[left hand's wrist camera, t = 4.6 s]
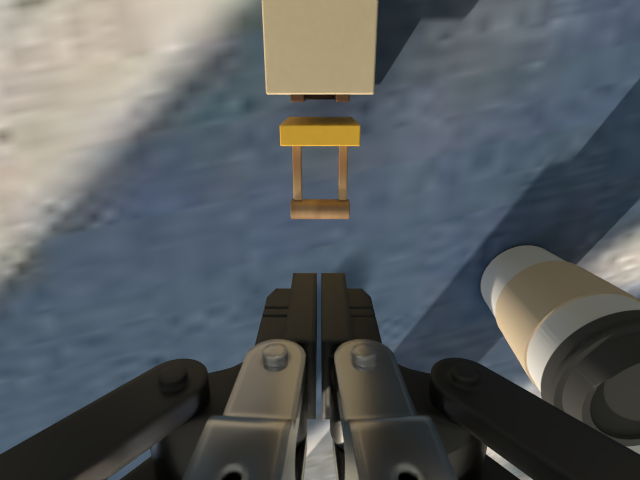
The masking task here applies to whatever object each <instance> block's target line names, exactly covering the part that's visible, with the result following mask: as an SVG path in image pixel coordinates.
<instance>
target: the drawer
mask: <svg viewBox="0 0 640 480" xmlns="http://www.w3.org/2000/svg"><path fill="white" fill-rule="evenodd" d="M307 99H334V100H335V101H336V102H349V100H350V94H291V102H304V101H305V100H307ZM360 127H361V126H360V125H359V124H358V123H357V122H356V121H355V120H354V119H353V118H352V117H289V118H287V119H286V120H285V121H284V122H283V123H282V124H281V125H280V145H281V146H292V153H293V193H294V199H291V218H292V219H349V215H350V202H349V199H347V170H348V146H360ZM301 146H339V175H338V199H302V149H301Z"/></svg>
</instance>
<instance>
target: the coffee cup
mask: <svg viewBox="0 0 640 480" xmlns="http://www.w3.org/2000/svg"><path fill="white" fill-rule="evenodd" d="M481 293H482V296H483V298H484V300H485V302H486V303H487V305H488V307H489V308H490V310H491V312H492V313H493V315H494V316H495V318H496V321H497V324H498V326H499V328H500V330H501V331H502V333H503V335H504V336H505V338H506V340H507V341H508V343H509V345H510V346H511V348H512V350H513V351H514V353H515V355H516V356H517V358H518V360H519V361H520V363H521V365H522V366H523V368H524V370H525V371H526V373H527V375H528V376H529V378H530V380H531V381H532V383H533V384H534V385H535V386H536V387H537V388H538V389H539V390H540V392H541V396H542V399H543V400H544V401H546V402H548V403H550V404H551V405H553V406H555V407H557V408H559V409H560V410H562V411H564V412H566V413H567V414H569V415H571V416H573V417H574V418H576V419H578V420H580V421H581V422H583V423H585V424H587V425H588V426H590V427H592V428H594V429H596V430H597V431H599V432H601V433H603V434H604V435H606V436H608V437H610V438H611V439H613V440H615V441H617V442H618V443H620V444H622V445H624V446H636V445H640V299H638V298H636V297H634V296H632V295H631V294H629V293H627V292H625V291H623V290H621V289H620V288H618V287H616V286H614V285H612V284H611V283H609V282H607V281H605V280H603V279H601V278H600V277H598V276H596V275H594V274H592V273H590V272H589V271H587V270H585V269H583V268H581V267H579V266H578V265H576V264H573V263H570V262H566V261H564V260H563V259H561V258H559V257H557V256H556V255H554V254H552V253H550V252H548V251H547V250H545V249H543V248H540V247H537V246H531V245H524V246H517V247H514V248H511V249H508V250H506V251H504V252H502V253H501V254H499V255H498V256H497V257H495V258H494V259H493V260H492V261H491V262H490V264H489V265H488V266H487V268H486V269H485V271H484V273H483V276H482V279H481Z"/></svg>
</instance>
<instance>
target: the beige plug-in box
mask: <svg viewBox="0 0 640 480" xmlns="http://www.w3.org/2000/svg"><path fill="white" fill-rule="evenodd" d="M262 13H263V35H264V57H265V79H266V93H267V94H374V85H375V63H376V42H377V20H378V0H262Z"/></svg>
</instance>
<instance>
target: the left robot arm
mask: <svg viewBox="0 0 640 480" xmlns="http://www.w3.org/2000/svg"><path fill="white" fill-rule="evenodd" d="M316 353H317V273H293V279H292V286H291V289H275V290H274V291H273V292H272V293H271V294H270V295H269V296H268V297H267V300H266V304H265V309H264V312H263V317H262V320H261V323H260V327H259V331H258V335H257V339H256V343H255V346H253V347H252V348H251V349H250V350H249V351H248V352H247V354H246V356H245V359H244V361H243V362H242V363H240V364H238V365H236V366H234V367H232V368H229V369H225V370H221V371H216V372H212V373H208V372H207V369H206V367H205V366H204V365H203V364H202V363H200V362H199V361H196V360H192V359H176V360H171V361H167V362H164V363H162V364H160V365H158V366H156V367H154V368H152V369H150V370H148V371H147V372H145V373H143V374H141V375H140V376H138V377H136V378H134V379H133V380H131V381H129V382H127V383H126V384H124V385H122V386H120V387H119V388H117V389H115V390H113V391H111V392H110V393H108V394H106V395H104V396H103V397H101V398H99V399H97V400H96V401H94V402H92V403H90V404H89V405H87V406H85V407H83V408H81V409H80V410H78V411H76V412H74V413H73V414H71V415H69V416H67V417H66V418H64V419H62V420H60V421H59V422H57V423H55V424H53V425H51V426H50V427H48V428H46V429H44V430H43V431H41V432H39V433H37V434H36V435H34V436H32V437H30V438H29V439H27V440H25V441H23V442H22V443H20V444H18V445H16V446H14V447H13V448H11V449H9V450H7V451H6V452H4V453H2V454H0V480H107V479H108V478H109V477H111V476H112V475H113V474H115V473H116V472H118V471H119V470H120V469H122V468H123V467H125V466H126V465H127V464H129V463H130V462H131V461H133V460H134V459H136V458H137V457H138V456H140V455H141V454H142V453H144V452H145V451H147V450H148V449H149V448H150V450H151V455H152V456H151V457H150V458H148V459H147V460H146V461H144V462H143V463H142V464H140V465H139V466H138V467H136V468H135V469H134V470H132V471H131V472H130V473H128V474H127V475H126V476H124V477H123V478H121V479H120V480H303V479H304V471H305V462H306V453H307V419H316ZM321 358H322V419H330V431H331V436H332V438H333V453H334V462H335V471H336V479H337V480H520V479H518V478H517V477H516V476H514V475H513V474H512V473H510V472H509V471H508V470H506V469H505V468H504V467H502V466H501V465H500V464H498V463H497V462H496V461H494V460H493V459H492V458H490V457H489V456H488V455H486V450H487V446H488V447H489V448H491V449H492V450H493V451H495V452H496V453H498V454H499V455H500V456H502V457H503V458H504V459H506V460H507V461H509V462H510V463H511V464H513V465H514V466H515V467H517V468H518V469H520V470H521V471H522V472H524V473H525V474H526V475H528V476H529V477H531V478H532V479H533V480H640V454H638V453H636V452H634V451H633V450H631V449H629V448H627V447H626V446H624V445H622V444H620V443H618V442H617V441H615V440H613V439H611V438H610V437H608V436H606V435H604V434H603V433H601V432H599V431H597V430H596V429H594V428H592V427H590V426H588V425H587V424H585V423H583V422H581V421H580V420H578V419H576V418H574V417H573V416H571V415H569V414H567V413H566V412H564V411H562V410H560V409H559V408H557V407H555V406H553V405H551V404H550V403H548V402H546V401H544V400H543V399H541V398H539V397H537V396H536V395H534V394H532V393H530V392H529V391H527V390H525V389H523V388H521V387H520V386H518V385H516V384H514V383H513V382H511V381H509V380H507V379H506V378H504V377H502V376H500V375H499V374H497V373H495V372H493V371H491V370H490V369H488V368H486V367H484V366H483V365H481V364H479V363H476V362H474V361H471V360H467V359H462V358H447V359H443V360H440V361H438V362H437V363H436V364H434V366H433V367H432V369H431V374H429V373H425V372H420V371H416V370H412V369H408V368H405V367H403V366H401V365H399V364H397V361H396V359H395V356H394V354H393V352H392V351H391V350H390V349H389V348H388V347H387V346H385V345H383V344H382V342H381V337H380V333H379V329H378V325H377V321H376V317H375V313H374V309H373V305H372V300H371V297H370V296H369V295H368V294H367V293H366V292H365V291H364V290H363V289H347V287H346V280H345V273H321Z"/></svg>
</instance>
